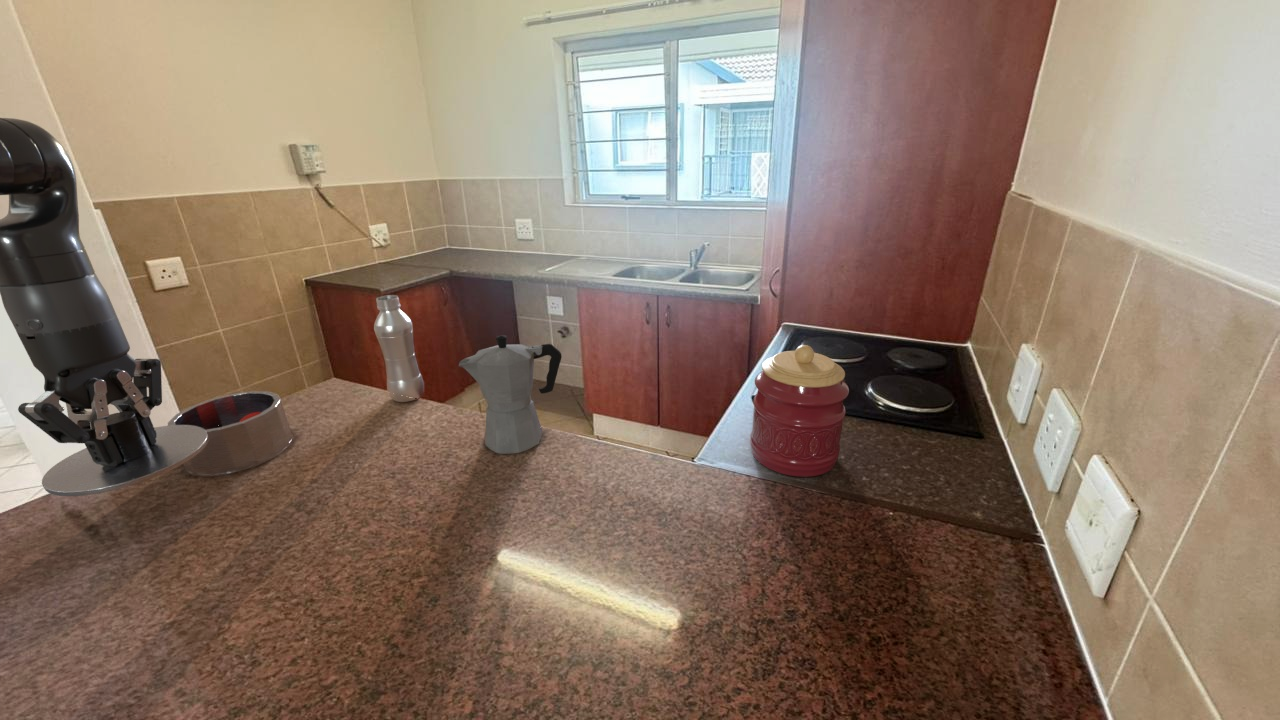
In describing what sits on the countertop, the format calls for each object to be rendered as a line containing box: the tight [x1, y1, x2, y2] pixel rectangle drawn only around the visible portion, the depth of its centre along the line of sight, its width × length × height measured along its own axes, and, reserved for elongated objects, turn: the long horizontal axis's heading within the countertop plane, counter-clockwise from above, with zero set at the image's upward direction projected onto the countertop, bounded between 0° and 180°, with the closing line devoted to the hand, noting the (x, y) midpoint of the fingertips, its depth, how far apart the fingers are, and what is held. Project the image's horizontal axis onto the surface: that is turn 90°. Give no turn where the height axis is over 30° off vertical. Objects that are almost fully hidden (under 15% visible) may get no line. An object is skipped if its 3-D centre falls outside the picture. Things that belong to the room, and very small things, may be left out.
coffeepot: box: [458, 334, 563, 455], centre depth 78 cm, size 15×9×18 cm, turn 112°
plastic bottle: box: [373, 294, 425, 403], centre depth 92 cm, size 6×7×20 cm
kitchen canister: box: [749, 344, 850, 478], centre depth 73 cm, size 13×13×18 cm
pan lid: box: [41, 411, 209, 497], centre depth 60 cm, size 15×15×6 cm
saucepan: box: [167, 390, 294, 478], centre depth 78 cm, size 14×14×8 cm
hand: (129, 453), depth 61 cm, fingers closed on pan lid, 3 cm apart
